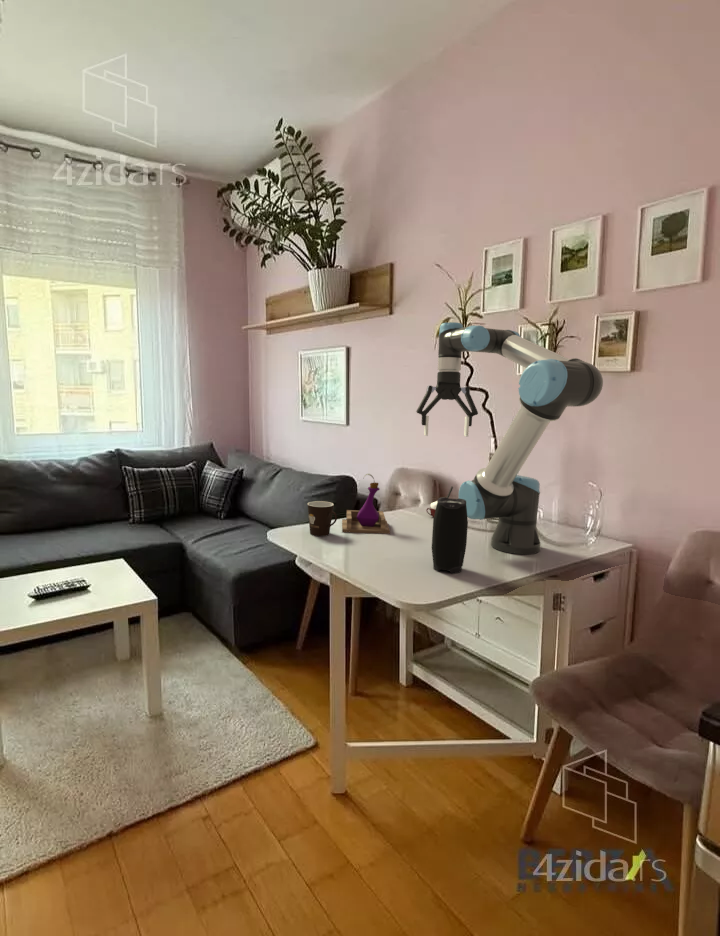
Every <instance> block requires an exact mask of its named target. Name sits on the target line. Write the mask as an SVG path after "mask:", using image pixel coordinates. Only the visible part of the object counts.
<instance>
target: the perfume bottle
mask: <svg viewBox="0 0 720 936" xmlns="http://www.w3.org/2000/svg"><path fill="white" fill-rule="evenodd" d="M366 476H370V477H371V478H372V479H373V482H371V483H370V484H369V487H368V488H367V489H368V496H367V497H366V500H365V502H364V504H363V505H362V507H361V508H360V509H359V510H358V511H359V512H358V515H357V519H358V521H359V523H360V524H361V526H371V527H373V526H374V525H375V523H376V522H377V521H378V519H379V513H378V512H377V511H378V510H377V509H376V508H375V505H374V498H375V495H376V494H377V492H378V491H380V487H379V482H375V478H374V476H373V475H372V474H371V473H366V474H364V476H363V478H365V477H366Z"/></svg>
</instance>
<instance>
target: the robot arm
mask: <svg viewBox="0 0 720 936" xmlns="http://www.w3.org/2000/svg"><path fill="white" fill-rule="evenodd" d="M463 326H464V325H463V324H462V323H461V322H453V321H452V322H450V321H449V322H442V323H441V324H440V326H439V332H438V333H439V334H438V352H437V353H438V355H437V356H438V358H437V359H438V360H437V370H438V372H437V376H436V378H437V380H436V386H434V385H433V386H432V385H428V386H427V387H426V392H425V394H424V396H423V397H422V400H421V402H420V404H419V406H418V408H417V409H416V411H415V412H416V414H418V415H421V425H422V426H424V427H423V428H424V429H423V435H424V436H426V437H428V436H429V419H430V417H429V416H430V415H428V414H429V413H430V411H431V410H433V408H434V407H435V405H437V404H438V402H439V401H440V400H447V401H448V400H449V401H456V403H457V404H458V406H459V407H460V408H461V409H462V411H463V412H464V413H465V414H466V416H464V428H463V436H464V437H469V432H470V431H469V428H470V427H472V426H473V425H472V423H473V417H474V416H477V415H478V414H479V411H478V409H477V407H476V405H475V403H474V400H473V398H472V395H471V390H470V387H469V386H464V387H461V372H460V371H461V369H462V353H465V352H466V353H468V352H472V353H473V352H476V353H485V354H486V353H488V354H497V355H500V356H501V357H502V358H503V357H504V358H505V359H507V360H510V361H512V362H514V363H515V364H517V365H519V366H521V367H522V368H524V370H523V372H522V373H521V375H520V378H519V382H518V385H519V387H518V395H519V398H518V401H519V403H520V408H519V409H518V411H517V412H516V415H515V417H514V418H513V420H512V422H511V424H510V425H509V427H508V428H507V430H506V432H505V433H504V435H503V437H502V439H501V440H500V442H499V444H498V446H497V447H496V449H495V451H494V453H493V454H492V456H491V458H490V460H489V462H488V464H487V465H486V467H483V468H480V469H479V470H478V471H477V472H476V474H475V476H474V478H473V479H472V480H466V481H464V482H463V483H461V484H460V486H459V489H458V498H460V499H464V500H466V507H467V518H468V519H471V520H480V521H481V520H488V519H489V520H490V519H498V521H497V524H496V527H495V529H494V531H493V533H492V536H491V539H490V545H491V547H492V548H493V549H496V550H497V551H500V552H504V553H508V554H515V555H532V554H537V553H539V552H541V544H542V543H541V540H540V535H539V531H538V528H537V527H538V526H537V523H538V513H539V502H540V494H541V492H540V486H541V485H540V481H539V480H538V479H536V478H534V477H530V476H525V475H518V474H519V472H520V470H521V469H522V467H523V466H524V464H525V463H526V461H527V460H528V458H529V457H530V455H531V453H532V452H533V450H534V448H536V446H537V444H538V442H539V440H540V439H541V437H542V436H543V434H544V433H545V431H546V429H547V428H548V426H549V424H550V423H551V422H553V421H557V420H560V418H561V416H562V414H563V413H564V412H565V410H566V408H567V407H584V406H587V405H589V404H591V403H592V402H594V401H596V400H597V398H598V397H599V396H600V394H601V392H602V389H603V387H604V378H603V375H602V373H601V371H600V370H599V369H598V367H596V366H595V365H594V364H592V363H590V362H587V361H584V360H583V359H580V358H577V357H572V358H568V357H566V356H563V355H561V354H559V353H557V352H555V351H552V350H550V349H548V348H545V347H544V346H541V345H539V344H537V343H535V342H532V341H530V340H528V339H526V338H524V337H522V336H521V335H520V333H519V332H518V331H516V330H510V329H498V328H489V327H488V328H487V327H485V326H483V325H475V324H474V325H470V326H464V327H463ZM434 392H436V394H437V395H436V396H435V397H434V398H433V400H432V401H430V403H429V404H428V405H427V402H429V401H428V400H429V398H430V397H431V395H432V393H434ZM461 392H462V394H464V397H465V399H466V402H467V403H468V406H469V407H468V406H467V405H466V403H465V402H464V401H463V400H462V398H461V396H460V395H459V394H460V393H461ZM426 405H427V406H426ZM425 406H426V408H425ZM469 408H470V409H469Z"/></svg>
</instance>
